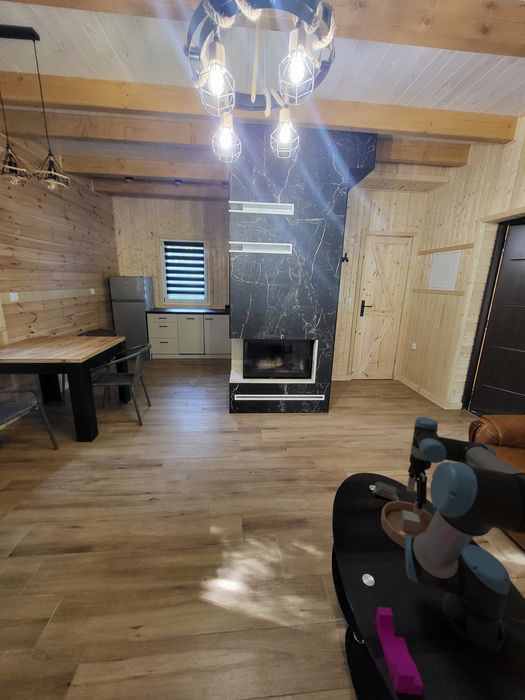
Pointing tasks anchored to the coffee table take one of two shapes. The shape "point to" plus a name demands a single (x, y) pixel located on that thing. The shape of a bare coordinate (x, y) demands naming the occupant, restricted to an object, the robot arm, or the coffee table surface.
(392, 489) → the packaged food
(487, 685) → the coffee table surface
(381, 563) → the coffee table surface
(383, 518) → the bowl
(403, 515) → the grey cube
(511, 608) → the coffee table surface
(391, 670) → the toy block
